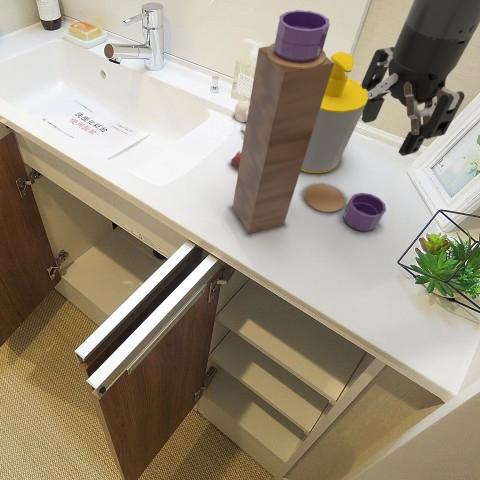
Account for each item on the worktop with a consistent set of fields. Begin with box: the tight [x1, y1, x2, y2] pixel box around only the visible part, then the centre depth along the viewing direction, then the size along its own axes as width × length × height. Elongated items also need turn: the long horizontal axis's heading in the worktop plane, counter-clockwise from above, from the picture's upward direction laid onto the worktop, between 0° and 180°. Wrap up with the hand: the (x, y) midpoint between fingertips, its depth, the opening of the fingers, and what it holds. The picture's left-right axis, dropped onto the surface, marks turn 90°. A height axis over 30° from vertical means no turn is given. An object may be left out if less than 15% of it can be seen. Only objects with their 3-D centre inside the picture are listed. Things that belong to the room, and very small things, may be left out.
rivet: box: [240, 124, 246, 133], centre depth 90 cm, size 10×2×2 cm, turn 24°
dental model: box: [230, 150, 242, 168], centre depth 84 cm, size 6×4×8 cm
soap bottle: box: [301, 51, 368, 174], centre depth 79 cm, size 13×13×21 cm
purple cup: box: [343, 192, 387, 232], centre depth 74 cm, size 6×6×4 cm
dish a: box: [273, 9, 331, 62], centre depth 52 cm, size 6×6×4 cm
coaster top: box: [267, 42, 327, 69], centre depth 53 cm, size 7×7×1 cm
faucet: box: [234, 99, 250, 123], centre depth 91 cm, size 4×18×10 cm, turn 24°
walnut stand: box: [232, 45, 334, 235], centre depth 65 cm, size 7×7×30 cm
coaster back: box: [303, 184, 345, 214], centre depth 79 cm, size 7×7×1 cm
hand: (386, 136), depth 62 cm, fingers open, 8 cm apart
